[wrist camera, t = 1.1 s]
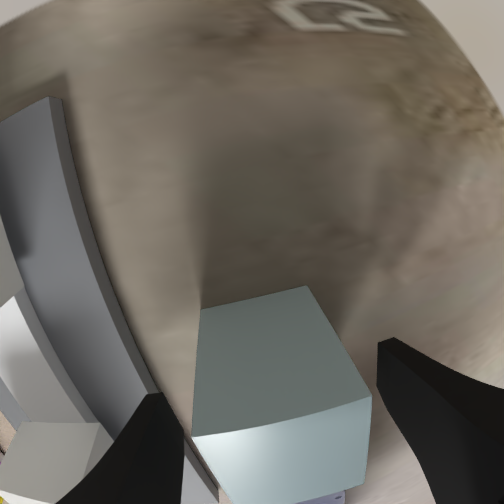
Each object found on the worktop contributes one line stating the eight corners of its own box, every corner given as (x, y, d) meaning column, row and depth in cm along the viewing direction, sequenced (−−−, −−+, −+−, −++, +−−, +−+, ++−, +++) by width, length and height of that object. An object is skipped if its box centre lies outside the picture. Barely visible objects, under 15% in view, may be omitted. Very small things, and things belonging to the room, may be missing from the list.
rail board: (218, 490, 16) (223, 573, 10) (87, 491, 16) (72, 558, 10) (61, 99, 9) (-68, 76, 3) (-82, 189, 8) (-169, 223, 2)
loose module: (318, 374, 13) (364, 483, 8) (229, 394, 13) (239, 512, 7) (306, 284, 12) (372, 395, 6) (200, 309, 12) (191, 437, 6)
